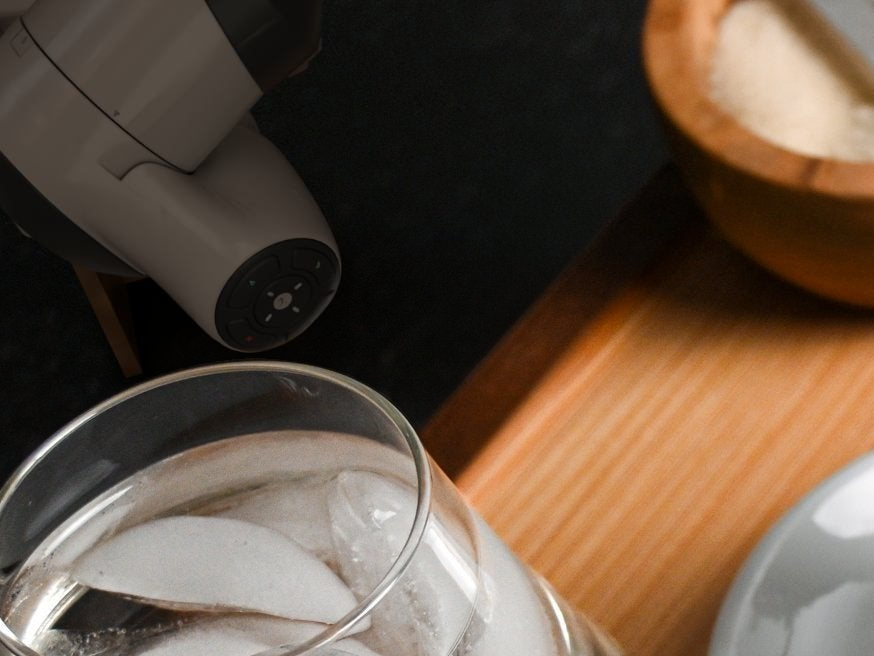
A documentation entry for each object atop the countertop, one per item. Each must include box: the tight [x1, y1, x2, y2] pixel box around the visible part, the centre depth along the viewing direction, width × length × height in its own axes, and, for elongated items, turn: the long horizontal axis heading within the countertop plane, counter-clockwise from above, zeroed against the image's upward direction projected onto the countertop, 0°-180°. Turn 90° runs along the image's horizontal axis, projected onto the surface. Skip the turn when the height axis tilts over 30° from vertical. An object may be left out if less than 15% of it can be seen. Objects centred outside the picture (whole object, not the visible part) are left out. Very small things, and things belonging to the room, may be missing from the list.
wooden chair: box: [70, 262, 150, 378], centre depth 121 cm, size 10×10×30 cm
